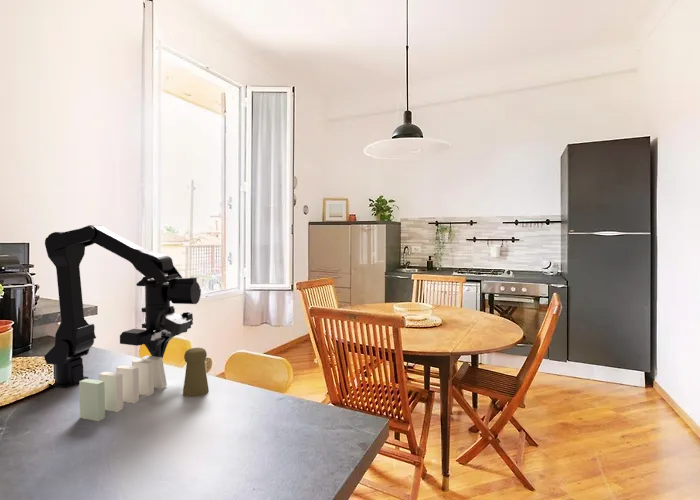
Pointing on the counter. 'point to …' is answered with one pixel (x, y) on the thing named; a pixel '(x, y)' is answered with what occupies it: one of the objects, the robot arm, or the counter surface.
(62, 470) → the counter surface
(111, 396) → the domino
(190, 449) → the counter surface
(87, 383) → the sage domino
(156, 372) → the domino
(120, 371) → the domino
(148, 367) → the domino
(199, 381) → the cork
